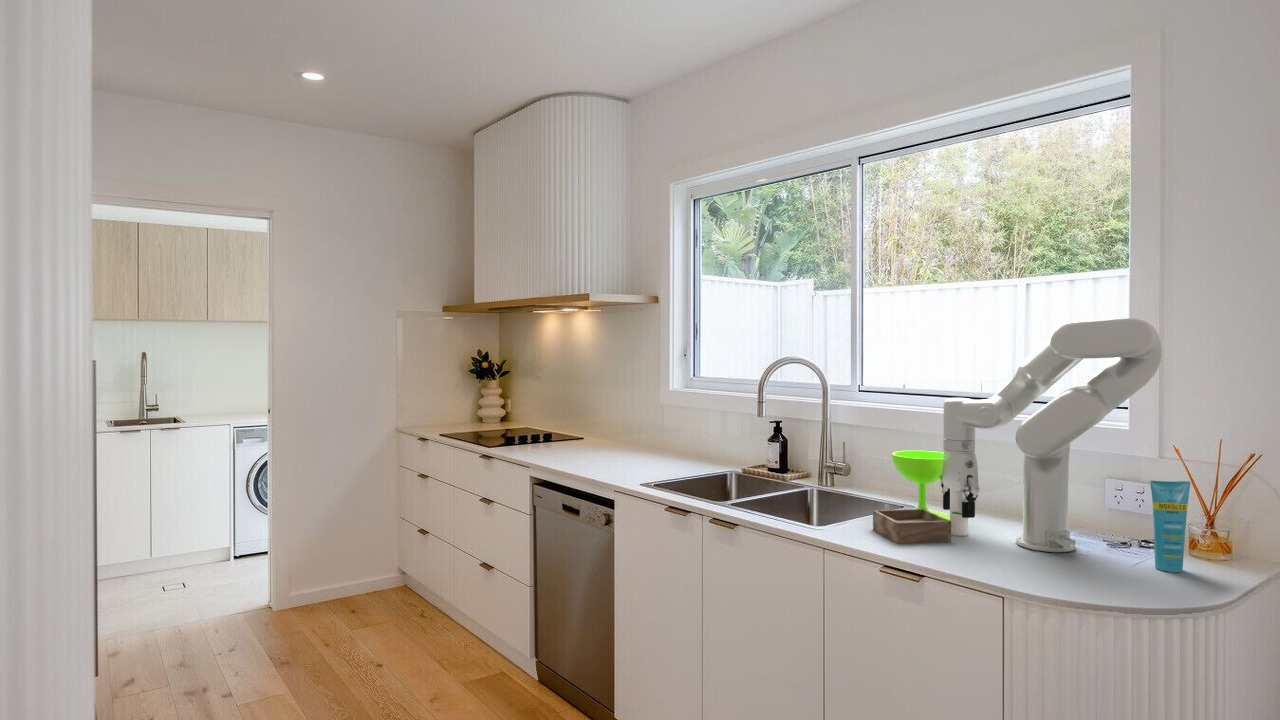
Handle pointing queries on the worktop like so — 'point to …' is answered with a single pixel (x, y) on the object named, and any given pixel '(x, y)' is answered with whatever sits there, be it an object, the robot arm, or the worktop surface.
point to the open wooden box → (911, 526)
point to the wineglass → (920, 471)
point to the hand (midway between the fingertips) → (958, 513)
